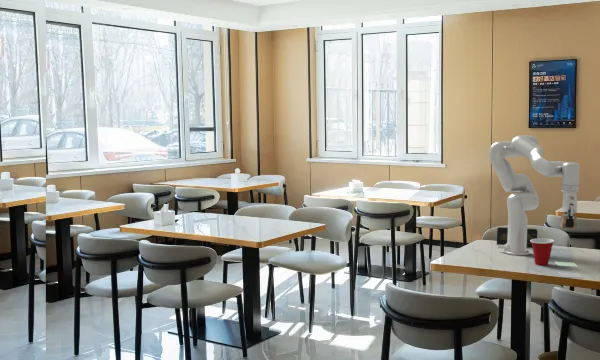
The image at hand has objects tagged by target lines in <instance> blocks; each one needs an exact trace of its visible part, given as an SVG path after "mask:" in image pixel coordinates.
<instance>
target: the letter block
mask: <svg viewBox="0 0 600 360" xmlns="http://www.w3.org/2000/svg"><path fill="white" fill-rule="evenodd" d="M566 219H567V214H564V213H561V214H560V225H559V226H560V227H561V228H562V229H568V230H569V229H574V230H576V229H577V227H578V226H577V223H578V216H577V215H576V214H574V226H573V227H566Z"/></svg>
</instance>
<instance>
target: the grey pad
mask: <svg viewBox="0 0 600 360" xmlns="http://www.w3.org/2000/svg"><path fill="white" fill-rule="evenodd" d="M557 274H558V275H559V276H560V277H561V278H570V279H572V278H573V279H574V278H575V279H584V277H583V276H582V275H581V274H580V272H559V271H558V272H557Z"/></svg>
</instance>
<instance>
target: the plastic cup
mask: <svg viewBox="0 0 600 360" xmlns="http://www.w3.org/2000/svg"><path fill="white" fill-rule="evenodd" d="M530 242H531V244H532V247H531V248H532V253H533V259H534V264H535V265H536V266H545V267H546V266H548V265H549V261H550V258H551V254H552V248H553V244H554V242H555V240H554V239H552V238H545V237H544V238H543V237H542V238H540V237H539V238H538V237H537V239H532V240H530Z"/></svg>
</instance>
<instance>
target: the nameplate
mask: <svg viewBox="0 0 600 360" xmlns="http://www.w3.org/2000/svg"><path fill="white" fill-rule="evenodd" d="M507 239H508V227H503V226H502V227H501V226H500V227H499V226H498V227H497V228H496V245H497V246H498V245H504V244H506V243H507ZM532 239H538V229H537V228H527V245H526V248H533V247H532V244H531V242H530V240H532Z"/></svg>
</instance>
